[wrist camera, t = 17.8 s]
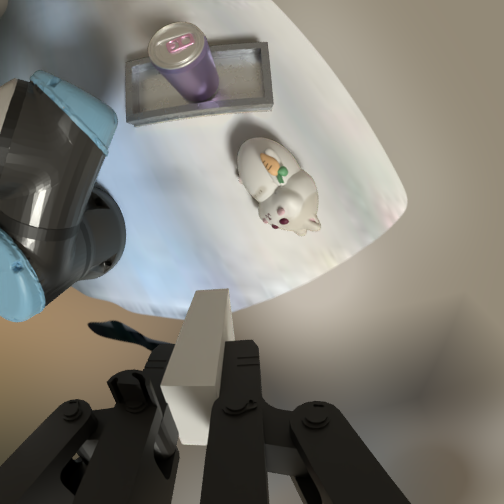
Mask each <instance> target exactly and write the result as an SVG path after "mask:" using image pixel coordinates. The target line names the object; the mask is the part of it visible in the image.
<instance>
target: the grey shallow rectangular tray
mask: <svg viewBox="0 0 504 504" xmlns="http://www.w3.org/2000/svg"><path fill="white" fill-rule="evenodd" d="M209 48H210V51H211V54H212V57H213V60H214V64H215V67H216V70H217V73H218V76H219V86H218V89H217V90H216V92H215V93H214V94H213V95H212V96H211V97H210V98H208V99H206V100H204V101H200V102H193V101H189V100H186V99H185V98H183V97H182V96H181V95H180V94H179V93H178V92H177V90H176V89H175V88H174V87H173V86H172V85H171V84H170V83H169V82H168V81H167V80H166V79H165V78H164V77H163V76H162V75H161V74H160V72H159V71H158V70H157V69H156V68H155V67H154V66H153V65H152V63H151V61H150V58H149V57H146V58H141V59H137V60H133V61H129V62H126V122H127V123H129V124H132V125H134V127H142V126H147V125H152V124H158V123H164V122H170V121H176V120H183V119H190V118H198V117H206V116H215V115H225V114H236V113H250V112H267V111H272V106H273V92H272V82H271V71H270V61H269V51H268V42H256V43H239V44H227V45H217V46H209Z"/></svg>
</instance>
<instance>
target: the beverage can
mask: <svg viewBox="0 0 504 504" xmlns="http://www.w3.org/2000/svg"><path fill="white" fill-rule="evenodd" d="M148 55H149V58H150V61H151V63H152V65H153V66H154V67H155V68H156V69H157V70H158V71H159V72H160V74H161V75H162V76H163V77H164V78H165V79H166V80H167V81H168V82H169V83H170V84H171V85H172V86H173V87H174V88H175V89H176V90H177V92H178V93H179V94H180V95H181V96H182V97H183V98H185V99H186V100H189V101H193V102H200V101H204V100H206V99H208V98H210V97H211V96H212V95H213V94H214V93H215V92H216V90H217V89H218V86H219V76H218V73H217V70H216V67H215V64H214V60H213V57H212V54H211V51H210V48H209V45H208V42H207V39H206V36H205V35H204V33H203V32H202V31H201V30H200V29H199V28H198V27H197V26H195V25H193V24H191V23H188V22H175V23H171V24H168V25H166V26H164V27H162V28H161V29H159V30H158V31H157V32H156V33H155V34H154V35H153V37H152V38H151V40H150V42H149V45H148Z"/></svg>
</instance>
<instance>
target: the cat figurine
mask: <svg viewBox="0 0 504 504" xmlns="http://www.w3.org/2000/svg"><path fill="white" fill-rule="evenodd" d="M237 165H238V171H239V178H238V179H239V180H238V181H239V182H240V183H241V184H243V185H244V186H245V188H246V189H247V191H248V192H249V193H250V194H251V195H252V196H253V197H254V198H255V199H256V200H257V201H259V202H260V203H259V202H258V203H259V209H258V213H259V217H260V218H261V219H262V220H263V222H264V223H268V224H270V225H272V227H273V228H274V229H277V228H279V229H282V230H287V231H293V232H295V233H296V234H297V235H299V236H305V235H306V233H307V230H310V231H313V232H317V231H319V230H320V229H321V224H320V222H319V220H318V218H317V215H316V214H317V210H318V191H317V187H316V184H315V182H314V180H313V178H312V177H311V176H310V175H309V174H308V173H307V172H305V171H304V170H302V169H300V167H299V165H298V163H297V161H296V160H295V158H294V157H293V155H292V154H291V153H290V152H289V151H288V150H287V149H286V148H285V147H283V146H282V145H280V144H279V143H277V142H275V141H273V140H270V139H267V138H251V139H249V140H247V141H245V142H244V143H243V144H242V146H241V147H240V149H239V152H238V157H237Z"/></svg>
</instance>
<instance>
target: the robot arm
mask: <svg viewBox="0 0 504 504" xmlns="http://www.w3.org/2000/svg"><path fill="white" fill-rule="evenodd" d="M29 80H30V82H27V81H24V80H20V79H17V78H14V79H12V80H10V81H9V82H7V83H5V84H4V85H2V86H1V87H0V316H2V317H3V318H5V319H7V320H9V321H13V322H22V321H26V320H28V319H29V318H31V317H32V316H34V315H36V314H38V313H40V312H41V311H42V310H43V308H44V307H45V306H47V305H48V304H49V303H50V302H52V301H53V300H54V299H55V298H57V297H58V296H59V295H60V294H61V293H63V292H64V291H65V290H66V289H68V288H69V287H70V286H72V285H73V284H74V283H75V282H77V281H80V280H89V279H95V278H98V277H101V276H103V275H104V274H106V273H107V272H108V271H110V270H111V269H112V268H113V267H114V266H115V265H116V264H117V263H118V261H119V260H120V258H121V256H122V254H123V251H124V248H125V242H126V228H125V223H124V219H123V216H122V213H121V211H120V209H119V207H118V206H117V204H116V203H115V201H114V200H113V199H112V198H111V197H110V196H109V195H108V194H107V193H106V192H104V191H103V190H101V189H99V188H96V187H94V184H95V181H96V179H97V176H98V174H99V171H100V169H101V166H102V164H103V161H104V159H105V157H106V156H107V155H108V148H109V145H110V143H111V140H112V138H113V135H114V133H115V131H116V128H117V124H118V119H117V115H116V113H115V111H114V110H113V109H112V108H111V107H109V106H108V105H106V104H105V103H104V102H102V101H100V100H99V99H97V98H96V97H94V96H92V95H91V94H89V93H87V92H85V91H84V90H82V89H80V88H78V87H76V86H74V85H73V84H71V83H69V82H67V81H65V80H61V79H60V78H58V77H56V76H54V75H52V74H50V73H48V72H45V71H42V70H38V71H36V72H35V73H34V74H33V75H32V76H31V77H30V79H29ZM107 384H108V386H109V388H110V390H111V393H112V395H113V397H114V399H115V402H116V404H115V407H114V408H109V409H101V410H92V409H91V407H90V405H89V404H88V403H87V402H85V401H84V400H79V399H75V400H70V401H67V402H64V403H63V404H61V405H60V406H59V407H58V408H57V409H56V410H55V411H54V412H53V413H52V414H51V415H50V416H49V417H48V418H47V419H46V420H45V421H44V422H43V423H42V424H41V425H40V426H39V427H38V428H37V429H36V430H35V431H34V432H33V433H32V434H31V435H30V436H29V437H28V438H27V439H26V440H25V441H24V442H23V443H22V444H21V445H20V446H19V448H18V449H16V450H15V452H14V453H13V454H12V455H11V456H10V457H9V458H8V459H7V460H6V461H5V462H4V463H3V464H2V465H1V466H0V504H171V500H172V495H173V490H174V484H175V479H176V474H177V468H178V463H179V458H180V457H179V451H178V448H177V446H176V445H177V440H178V436H179V437H180V440H181V442H182V444H185V445H207V449H206V457H205V465H204V474H203V483H202V491H201V499H200V504H269V491H268V475H267V472H272V473H278V474H284V475H290V477H291V479H292V481H293V483H294V485H295V487H296V490H297V492H298V494H299V496H300V498H301V500H302V502H303V504H411V503H410V502H409V501H408V499H407V498H406V497H405V496H404V494H403V493H402V492H401V490H400V489H399V488H398V487H397V485H396V484H395V483H394V481H393V480H392V479H391V478H390V476H389V475H388V474H387V472H386V471H385V470H384V469H383V467H382V466H381V465H380V463H379V462H378V461H377V459H376V458H375V457H374V455H373V454H372V453H371V452H370V450H369V449H368V448H367V446H366V445H365V444H364V442H363V441H362V440H361V438H360V437H359V436H358V434H357V433H356V432H355V430H354V429H353V428H352V426H351V425H350V424H349V422H348V421H347V420H346V418H345V417H344V416H343V414H342V413H341V412H340V410H339V409H337V408H336V407H335V406H334V405H332V404H329V403H327V402H321V401H313V402H307V403H304V404H302V405H300V406H298V407H297V408H296V409H295V410H294V411H286V410H281V409H277V408H274V407H272V406H270V405H268V403H266V402H265V400H264V399H263V398H262V386H261V372H260V360H259V348H258V346H257V345H256V344H255V342H254V341H253V340H240V341H235V338H234V330H233V322H232V314H231V306H230V297H229V288H228V289H213V290H198V291H196V292H195V295H194V297H193V300H192V302H191V305H190V307H189V310H188V313H187V315H186V318H185V320H184V323H183V326H182V328H181V331H180V333H179V336H178V339H177V341H176V344H160V345H159V346H157V347H156V348H155V349H154V350H153V351H152V352H151V354H150V356H149V358H148V362H147V363H146V365H145V369H143V371H139V370H125V371H122V372H119V373H117V374H115V375H114V376H112V377H111V378H110V379H109V380H108V381H107ZM76 453H77V454H78V455H79V456H80V457H79V458H77V459H76V460H73V459H72V457H73V456H74V455H75V454H76Z"/></svg>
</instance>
